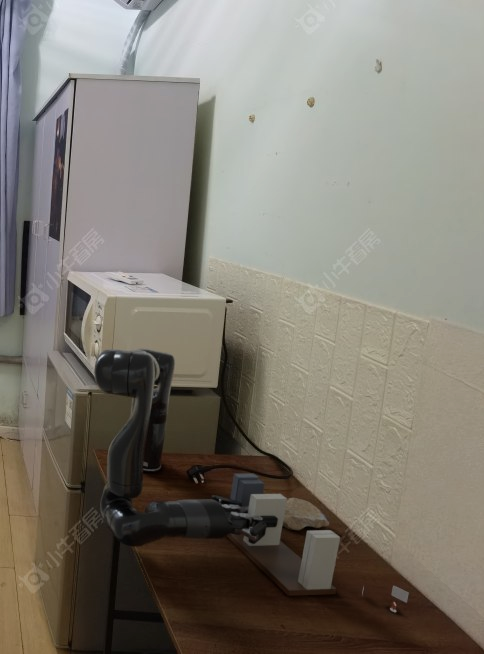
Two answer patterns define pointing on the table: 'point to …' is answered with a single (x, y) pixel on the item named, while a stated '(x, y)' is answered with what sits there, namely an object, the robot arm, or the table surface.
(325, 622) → the table surface
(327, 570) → the cream books
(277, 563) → the shelf board
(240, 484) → the grey books
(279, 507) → the white rectangular block
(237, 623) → the table surface
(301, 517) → the stone
